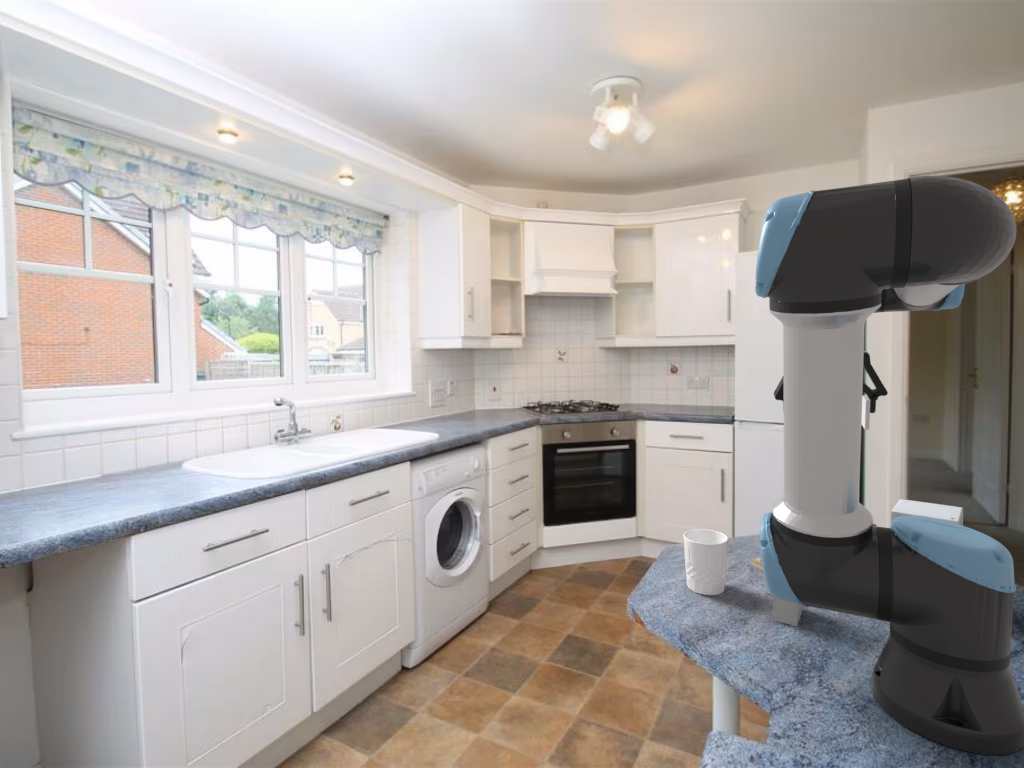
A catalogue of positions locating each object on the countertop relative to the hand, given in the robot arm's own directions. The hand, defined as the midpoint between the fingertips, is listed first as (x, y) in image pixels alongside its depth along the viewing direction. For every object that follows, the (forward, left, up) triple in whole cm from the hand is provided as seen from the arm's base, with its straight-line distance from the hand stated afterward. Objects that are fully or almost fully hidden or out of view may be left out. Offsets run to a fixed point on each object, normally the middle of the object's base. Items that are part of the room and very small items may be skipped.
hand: (827, 427), depth 114 cm
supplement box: (-2, -23, -27) cm, 36 cm away
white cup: (-34, -6, -27) cm, 44 cm away
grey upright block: (-27, -19, -28) cm, 43 cm away
